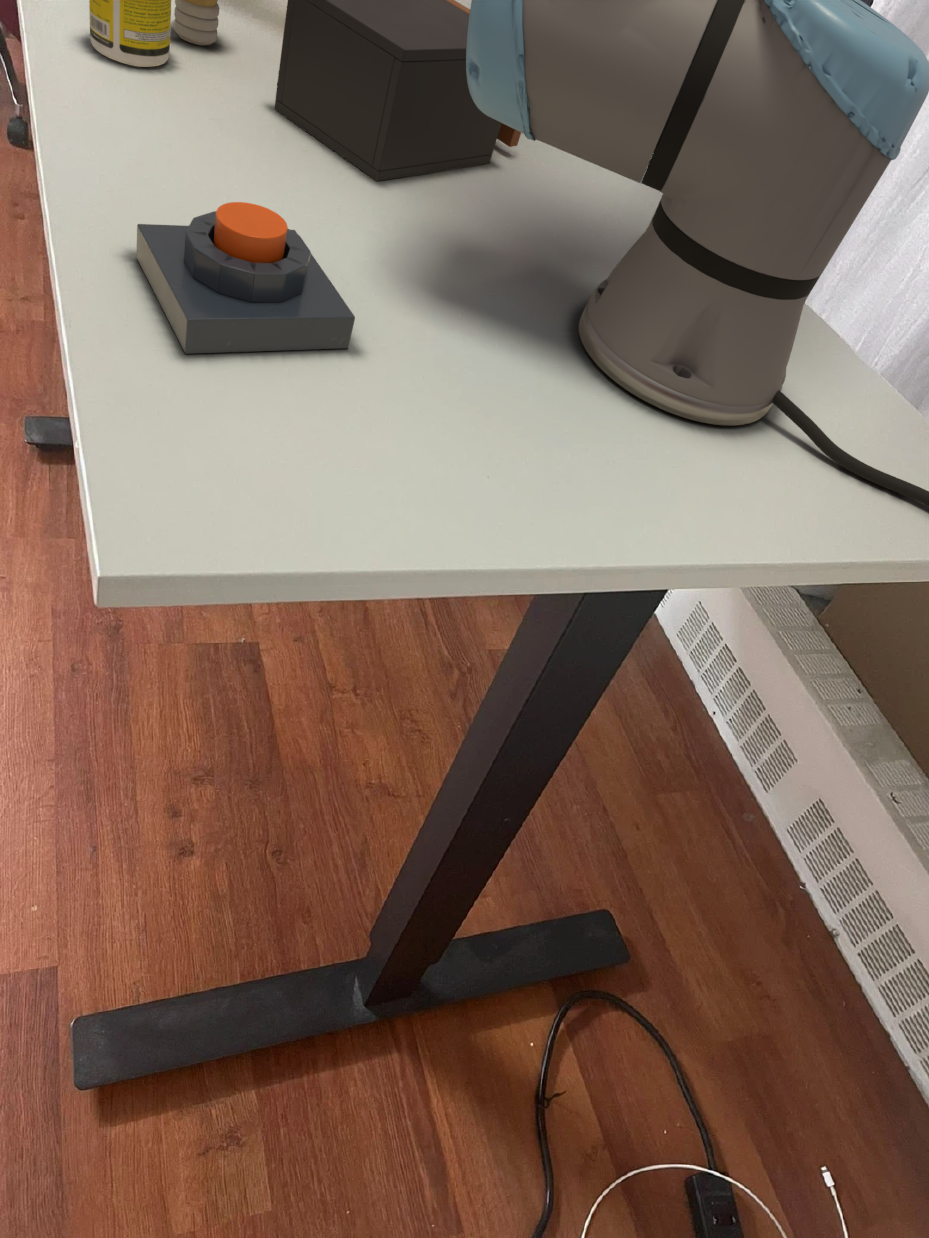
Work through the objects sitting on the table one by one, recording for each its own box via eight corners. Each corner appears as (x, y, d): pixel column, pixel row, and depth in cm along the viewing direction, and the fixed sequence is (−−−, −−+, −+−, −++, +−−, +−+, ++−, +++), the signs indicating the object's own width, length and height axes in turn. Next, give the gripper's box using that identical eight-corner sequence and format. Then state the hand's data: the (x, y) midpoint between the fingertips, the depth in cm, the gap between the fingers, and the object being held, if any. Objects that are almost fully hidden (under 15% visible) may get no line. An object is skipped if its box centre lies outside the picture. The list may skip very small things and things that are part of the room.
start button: (293, 267, 52) (298, 239, 51) (226, 266, 50) (229, 236, 49) (269, 231, 54) (273, 203, 53) (204, 229, 52) (206, 199, 51)
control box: (348, 348, 55) (362, 289, 52) (185, 354, 50) (189, 289, 47) (290, 260, 60) (299, 202, 57) (135, 258, 55) (137, 193, 52)
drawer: (439, 90, 88) (461, -1, 82) (525, 145, 85) (554, 54, 79) (328, 97, 79) (345, -5, 73) (420, 160, 75) (444, 58, 70)
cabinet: (393, 99, 85) (418, -17, 78) (489, 163, 81) (524, 47, 75) (274, 109, 76) (290, -23, 69) (376, 181, 72) (404, 50, 65)
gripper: (714, -47, 86) (553, 146, 87) (610, -101, 90) (456, 84, 91) (715, -122, 79) (539, 90, 80) (601, -177, 83) (435, 26, 84)
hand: (495, 87), depth 85 cm, fingers closed
